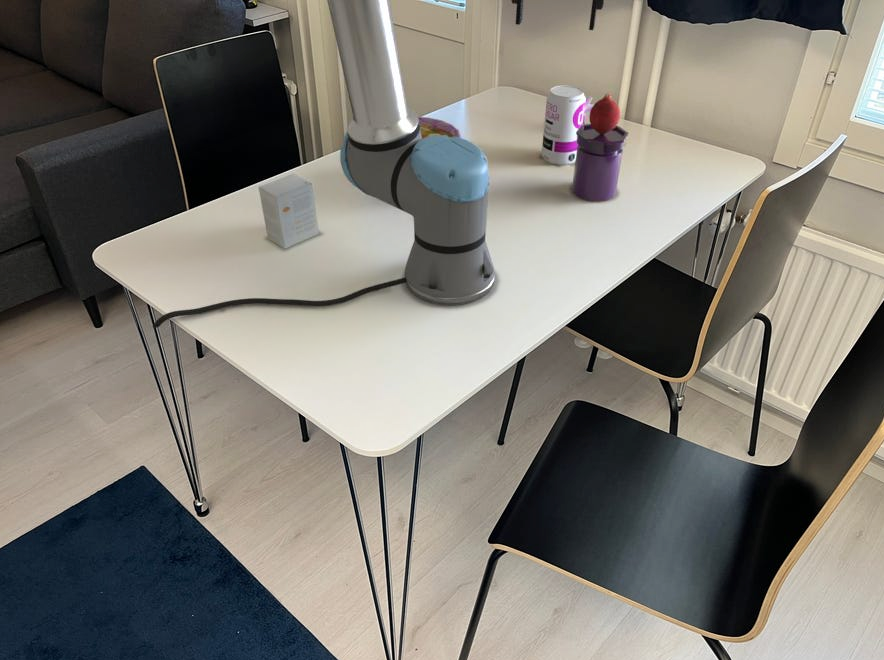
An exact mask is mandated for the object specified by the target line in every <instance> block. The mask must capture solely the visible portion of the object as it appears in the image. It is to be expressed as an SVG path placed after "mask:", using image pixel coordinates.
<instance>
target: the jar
mask: <svg viewBox="0 0 884 660" xmlns="http://www.w3.org/2000/svg"><path fill="white" fill-rule="evenodd" d="M576 135H577V140H576V141H577V144H578V145H577V152H576V160H575V161H574V167H573V168H574V169H573V176H572V184H571V192H572V194H573V195H574V196H575V197H577V198H579V199H581V200H584V201H589V202H606V201H609V200H612V199H614V197H615V196H616V193H617V189H618V182H619V176H620V171H621V164H622V159H623V153H624V148H625V147H626V144H627V138H628V136H629V132H628V131H627V130H625V129H623V127H621V126H619V125H618V124H617V125H616V127H615V128H613V129H612V130H611V131H609V132H608V133H606V134H604V135H600V134H599V133H598V132H596V131H595V130H594V128H593V127H592V126H591V124H590V123H587V124H586V123H585V125H583V124H582V125H581V127H580V128H579V129H578V130H577V132H576Z"/></svg>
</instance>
